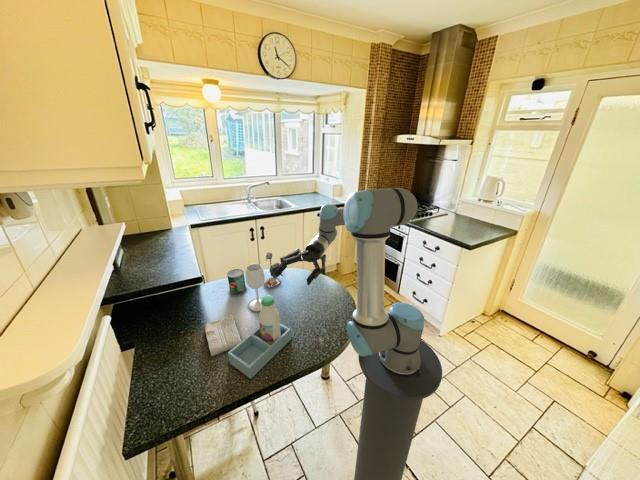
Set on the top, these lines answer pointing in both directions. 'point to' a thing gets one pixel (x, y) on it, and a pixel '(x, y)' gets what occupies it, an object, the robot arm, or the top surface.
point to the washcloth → (222, 335)
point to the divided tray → (256, 351)
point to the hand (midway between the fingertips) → (291, 277)
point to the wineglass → (255, 283)
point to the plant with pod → (272, 273)
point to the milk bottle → (269, 321)
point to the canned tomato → (236, 282)
